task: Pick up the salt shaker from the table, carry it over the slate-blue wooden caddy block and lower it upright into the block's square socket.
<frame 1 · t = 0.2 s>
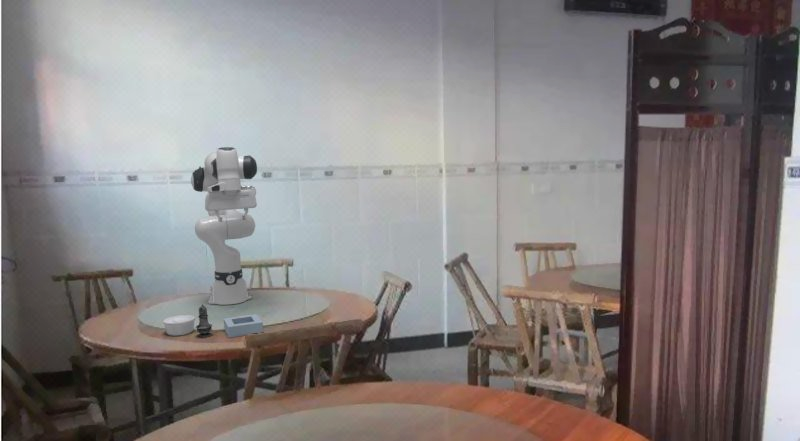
hand: (232, 220, 253), 39 cm above the table, tool pointing down, fingers open, 8 cm apart
ramekin: (180, 332, 236), on the table
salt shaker: (204, 336, 231), on the table
caddy block: (243, 330, 235), on the table
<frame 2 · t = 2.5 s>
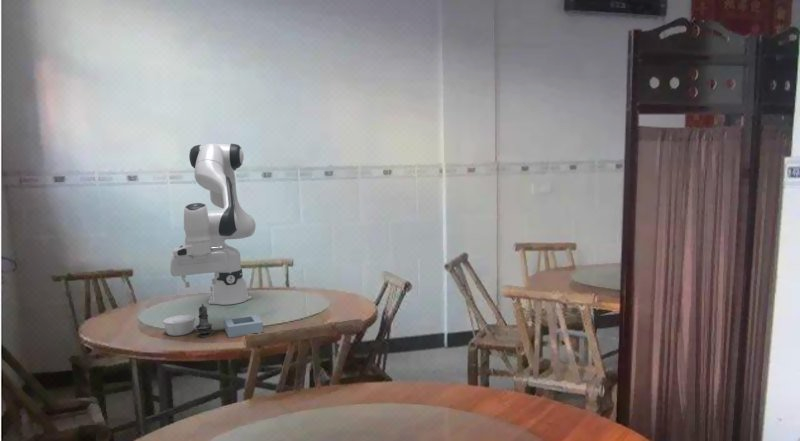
hand: (201, 285, 228), 19 cm above the table, tool pointing down, fingers open, 8 cm apart
nothing on the table moved.
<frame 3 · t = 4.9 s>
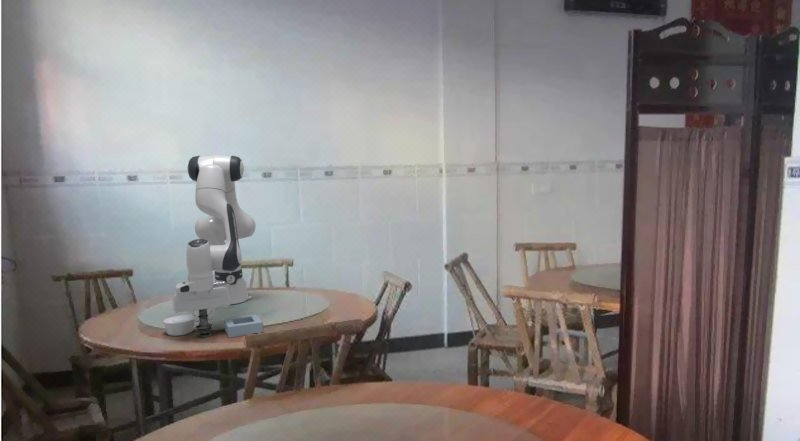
hand: (203, 320, 230), 6 cm above the table, tool pointing down, fingers closed on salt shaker, 4 cm apart
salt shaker: (204, 335, 231), on the table, touching gripper
everything else where it was.
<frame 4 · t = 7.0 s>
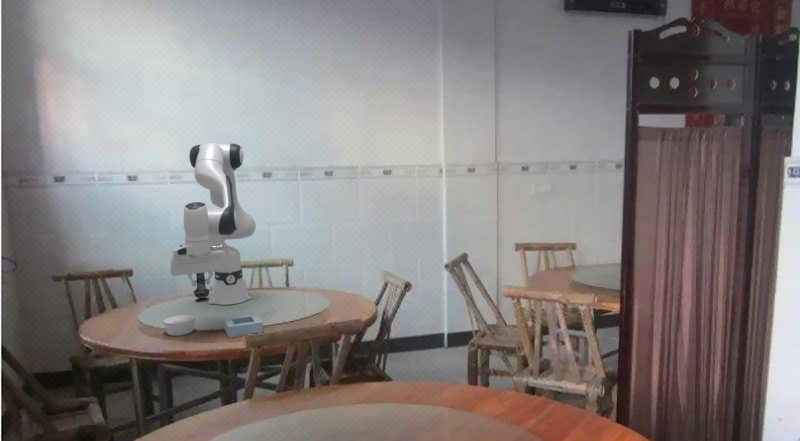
hand: (201, 284, 228), 19 cm above the table, tool pointing down, fingers closed on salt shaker, 4 cm apart
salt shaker: (202, 300, 229), point 13 cm above the table, touching gripper
everything else where it was.
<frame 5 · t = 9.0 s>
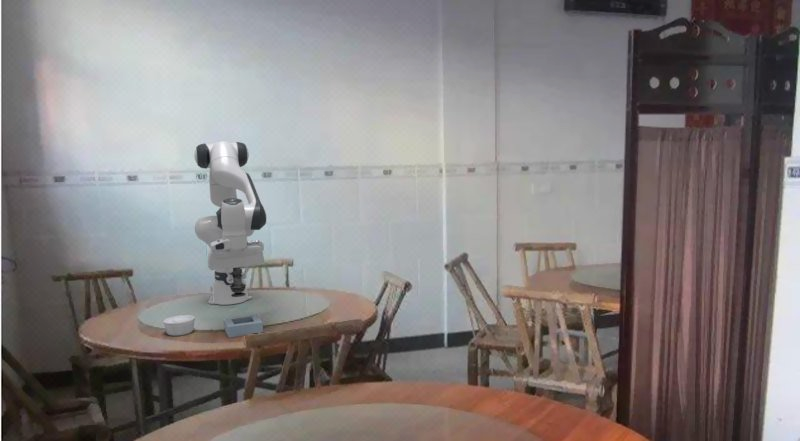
hand: (237, 279, 232), 20 cm above the table, tool pointing down, fingers closed on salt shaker, 4 cm apart
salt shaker: (238, 295, 233), point 14 cm above the table, touching gripper
everything else where it was.
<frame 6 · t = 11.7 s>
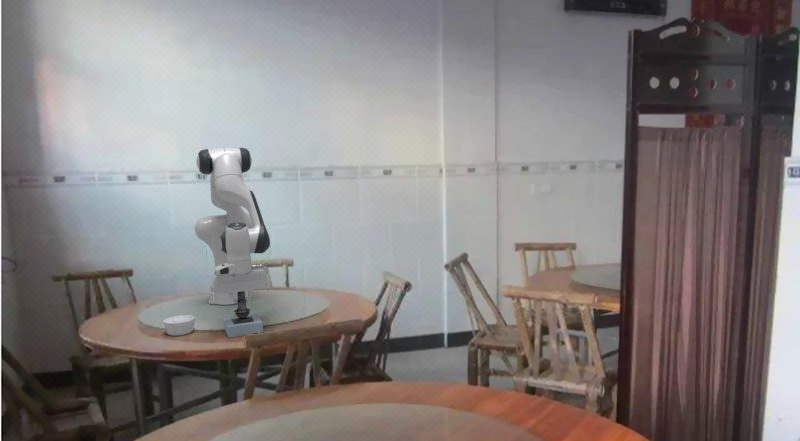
hand: (241, 302, 234), 11 cm above the table, tool pointing down, fingers closed on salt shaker, 4 cm apart
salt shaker: (242, 320, 235), point 4 cm above the table, touching gripper
everything else where it was.
when the fingers open (7 cm above the table, at t = 13.4 s): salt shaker stays where it is, resting in caddy block.
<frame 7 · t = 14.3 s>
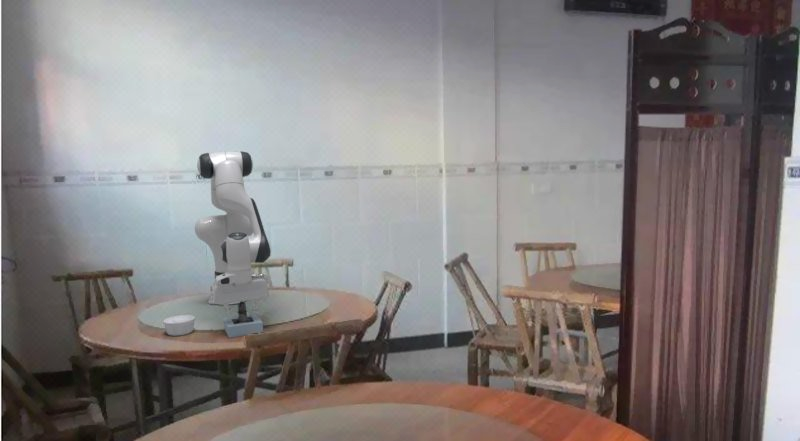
hand: (242, 312, 234), 7 cm above the table, tool pointing down, fingers open, 8 cm apart
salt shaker: (243, 331, 235), resting in caddy block
everything else where it was.
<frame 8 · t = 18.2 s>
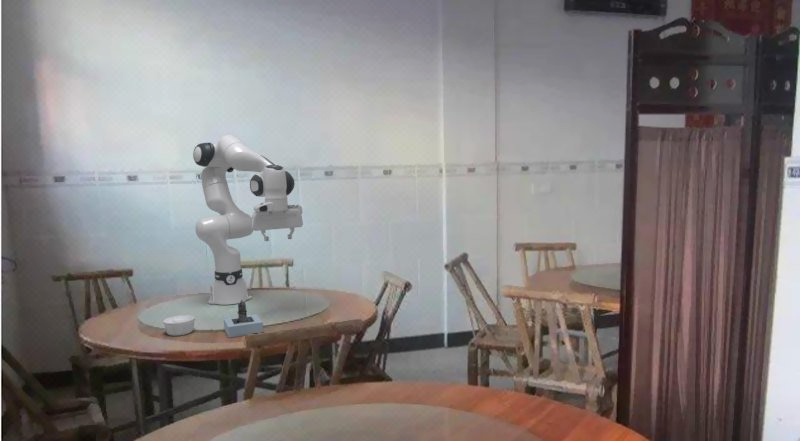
hand: (278, 239, 251), 31 cm above the table, tool pointing down, fingers open, 8 cm apart
nothing on the table moved.
at the end: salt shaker 0.0 cm off-centre on the caddy block, point 0.0 cm above the caddy block's base; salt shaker tilted 0°; the gripper is holding nothing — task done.
